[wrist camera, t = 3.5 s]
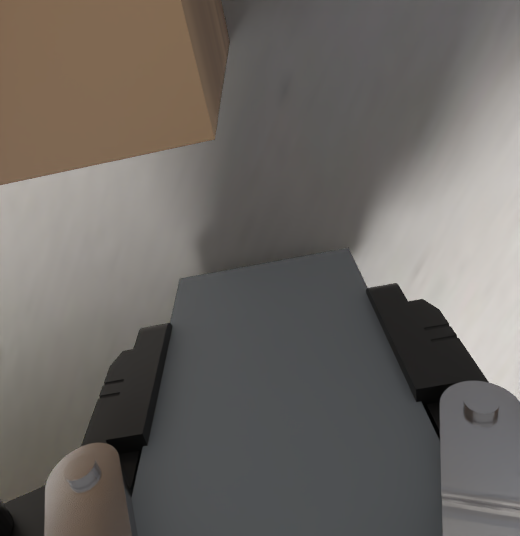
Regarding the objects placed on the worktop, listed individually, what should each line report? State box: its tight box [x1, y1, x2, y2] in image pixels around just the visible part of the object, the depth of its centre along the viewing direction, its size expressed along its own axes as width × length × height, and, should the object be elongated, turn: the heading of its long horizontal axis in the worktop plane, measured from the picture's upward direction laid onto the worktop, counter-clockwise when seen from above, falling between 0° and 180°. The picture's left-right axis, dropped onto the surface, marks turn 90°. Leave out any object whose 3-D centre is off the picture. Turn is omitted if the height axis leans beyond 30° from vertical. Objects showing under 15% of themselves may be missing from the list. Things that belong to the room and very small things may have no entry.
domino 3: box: [131, 248, 442, 536], centre depth 10 cm, size 2×5×10 cm, turn 100°
